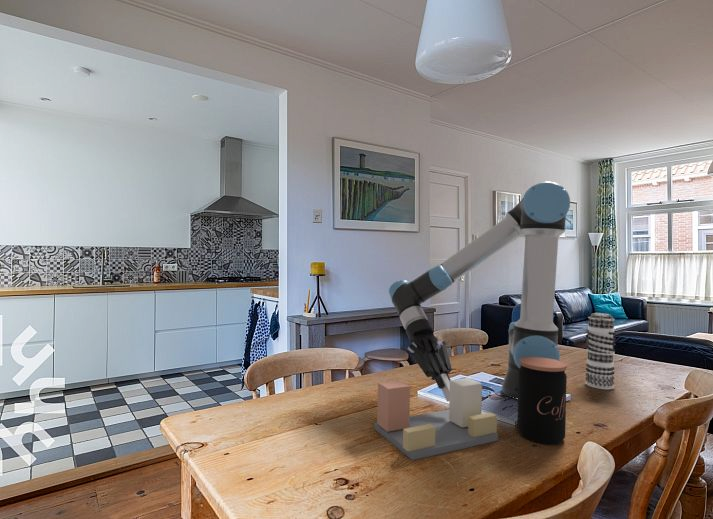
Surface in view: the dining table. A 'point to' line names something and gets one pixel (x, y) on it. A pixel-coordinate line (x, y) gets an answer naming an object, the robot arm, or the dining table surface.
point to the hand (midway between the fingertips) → (451, 398)
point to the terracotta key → (393, 405)
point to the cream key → (464, 400)
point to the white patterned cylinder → (600, 351)
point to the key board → (440, 434)
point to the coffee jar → (542, 400)
